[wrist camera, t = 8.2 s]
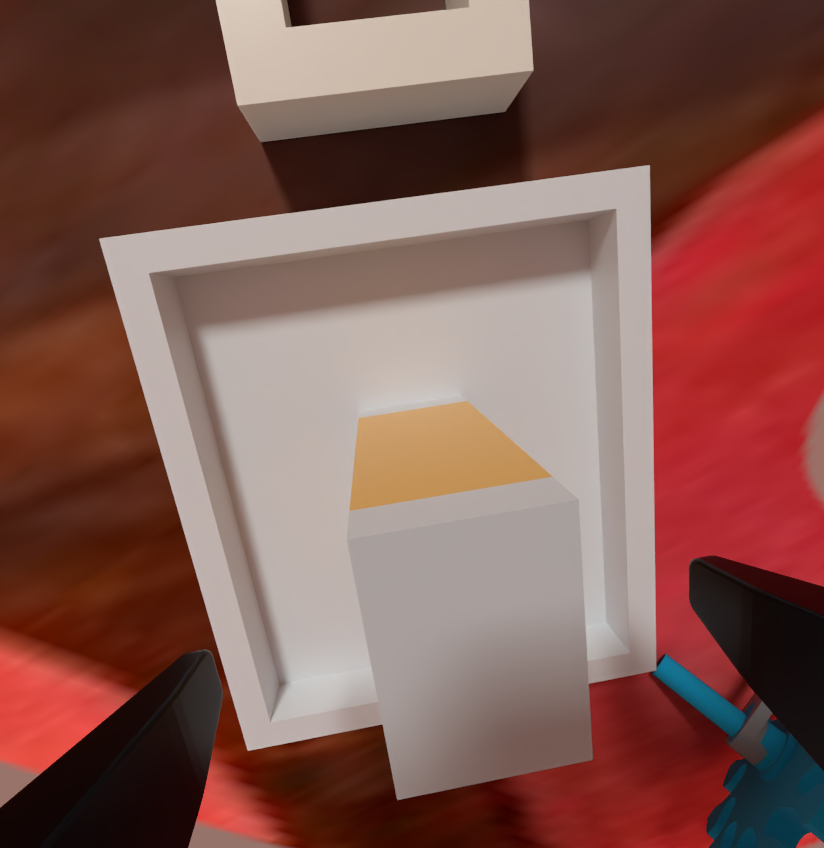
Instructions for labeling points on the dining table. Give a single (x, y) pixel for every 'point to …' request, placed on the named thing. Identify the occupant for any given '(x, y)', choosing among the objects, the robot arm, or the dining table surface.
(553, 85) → the dining table surface
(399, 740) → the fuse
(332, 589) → the parts tray
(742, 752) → the blue toy water gun
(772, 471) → the dining table surface
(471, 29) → the white shallow boxy piece
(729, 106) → the dining table surface
